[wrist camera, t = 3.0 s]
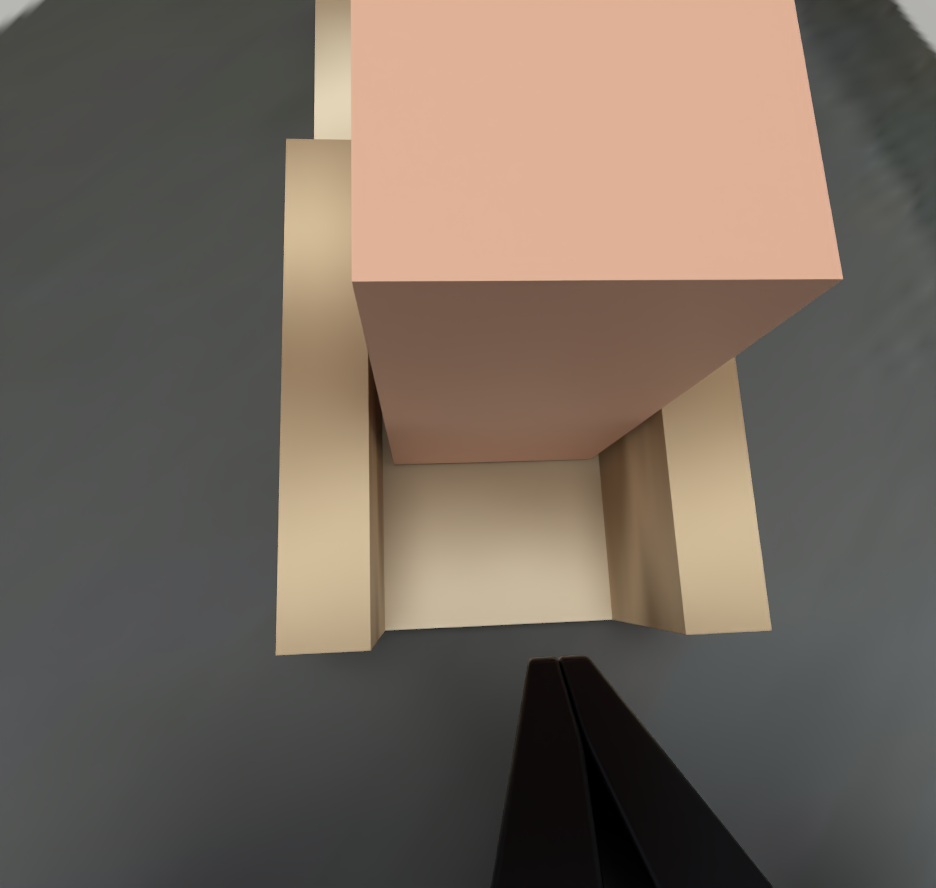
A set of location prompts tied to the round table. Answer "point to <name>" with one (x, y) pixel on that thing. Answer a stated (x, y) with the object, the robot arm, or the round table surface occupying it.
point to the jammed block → (574, 211)
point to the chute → (478, 470)
